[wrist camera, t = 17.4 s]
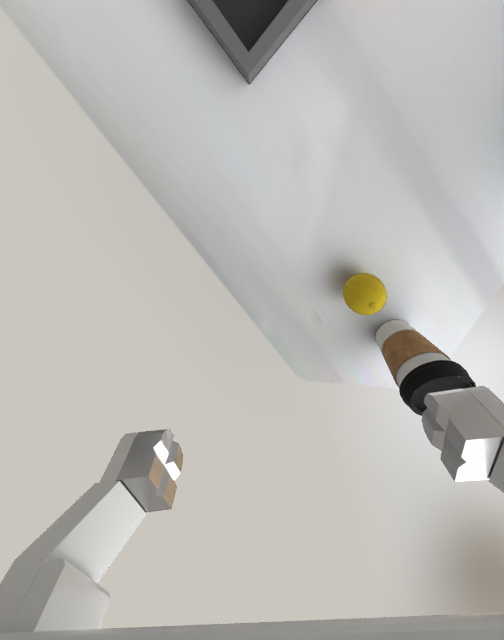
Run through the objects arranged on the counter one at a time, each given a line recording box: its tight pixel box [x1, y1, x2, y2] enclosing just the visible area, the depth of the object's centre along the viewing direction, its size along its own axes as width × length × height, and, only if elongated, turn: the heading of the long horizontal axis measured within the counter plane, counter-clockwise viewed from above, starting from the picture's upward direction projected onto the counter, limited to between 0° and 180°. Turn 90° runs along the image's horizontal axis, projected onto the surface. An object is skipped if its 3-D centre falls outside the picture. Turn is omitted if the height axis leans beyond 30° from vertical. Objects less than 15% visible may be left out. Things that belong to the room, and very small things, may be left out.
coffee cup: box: [375, 320, 476, 416], centre depth 41 cm, size 8×8×15 cm
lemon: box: [343, 273, 387, 315], centre depth 39 cm, size 6×6×8 cm
